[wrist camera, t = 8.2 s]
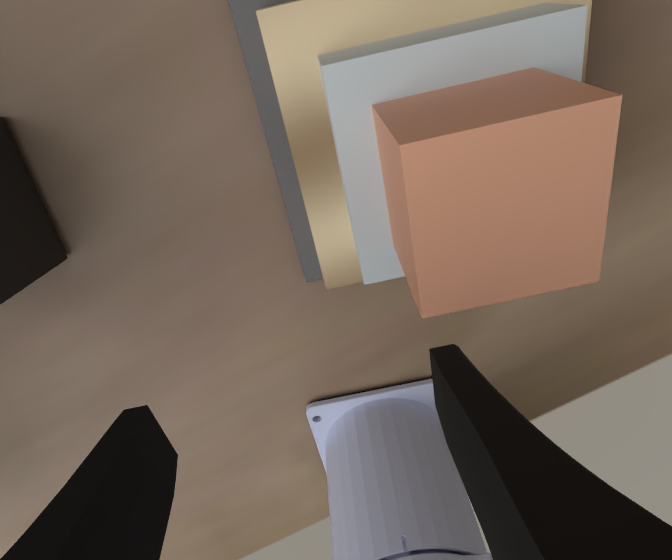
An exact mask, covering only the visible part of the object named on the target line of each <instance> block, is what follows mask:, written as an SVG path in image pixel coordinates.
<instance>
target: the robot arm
mask: <svg viewBox="0 0 672 560" xmlns="http://www.w3.org/2000/svg"><path fill="white" fill-rule="evenodd" d="M429 350H430V360H431V370H432V379H427V380H422V381H417V382H412V383H407V384H402V385H397V386H392V387H387V388H382V389H377V390H373V391H368V392H363V393H358V394H353V395H348V396H343V397H338V398H333V399H328V400H323V401H318V402H313V403H310V404H309V405H307V407H306V415H307V418H308V421H309V424H310V427H311V430H312V432H313V435H314V438H315V441H316V444H317V447H318V450H319V453H320V456H321V459H322V462H323V465H324V468H325V471H326V474H327V483H328V497H329V512H330V525H331V541H332V554H333V560H672V526H670V525H669V524H667V523H665V522H664V521H662V520H661V519H659V518H658V517H656V516H655V515H653V514H652V513H650V512H649V511H647V510H645V509H644V508H643V507H641V506H640V505H638V504H637V503H635V502H633V501H632V500H631V499H629V498H628V497H626V496H625V495H623V494H622V493H620V492H618V491H617V490H615V489H614V488H613V487H611V486H609V485H608V484H607V483H606V482H604V481H603V480H601V479H600V478H598V477H597V476H596V475H594V474H593V473H592V472H590V471H589V470H588V469H586V468H585V467H584V466H582V465H581V464H580V463H579V462H577V461H576V460H575V459H573V458H572V457H571V456H569V455H568V454H567V453H566V452H564V451H563V450H562V449H561V448H560V447H558V446H557V445H556V444H554V443H553V442H552V441H551V440H550V439H549V438H548V437H546V436H545V435H544V434H543V433H542V432H541V431H539V430H538V429H537V428H536V427H535V426H534V425H533V424H532V423H530V422H529V421H528V420H527V419H526V418H525V417H524V416H523V415H522V414H521V413H520V412H518V411H517V410H516V409H515V408H514V407H513V406H512V405H511V404H510V403H509V402H508V401H507V400H506V399H505V398H504V397H503V396H502V395H501V394H500V393H499V392H498V391H497V390H496V389H495V388H494V387H493V386H492V385H491V384H490V383H489V382H488V381H487V380H486V378H485V377H484V376H483V375H482V374H481V373H480V372H479V371H478V370H477V369H476V367H475V366H474V365H473V364H472V363H471V362H470V361H469V359H468V358H467V357H466V356H465V355H464V353H463V352H462V351H461V350H460V348H459V347H458V346H456V345H455V344H451V345H446V346H441V347H436V348H431V349H429ZM315 416H319V417H315ZM177 458H178V454H177V453H176V451H175V450H174V448H173V446H172V445H171V443H170V441H169V440H168V438H167V437H166V435H165V433H164V432H163V430H162V428H161V427H160V425H159V423H158V422H157V420H156V419H155V417H154V415H153V414H152V412H151V410H150V409H149V407H148V406H147V405H145V406H140V407H135V408H130V409H125V410H123V412H122V413H121V414H120V415H119V416H118V418H117V419H116V420H115V421H114V423H113V424H112V425H111V426H110V428H109V429H108V430H107V432H106V433H105V434H104V435H103V437H102V438H101V439H100V441H99V442H98V443H97V445H96V446H95V447H94V448H93V450H92V451H91V452H90V454H89V455H88V456H87V457H86V459H85V460H84V461H83V463H82V464H81V465H80V466H79V468H78V469H77V470H76V471H75V473H74V474H73V475H72V476H71V478H70V479H69V480H68V482H67V483H66V484H65V485H64V487H63V488H62V489H61V490H60V491H59V493H58V494H57V495H56V496H55V497H54V499H53V500H52V501H51V502H50V503H49V504H48V506H47V507H46V508H45V509H44V510H43V512H42V513H41V514H40V515H39V516H38V517H37V519H36V520H35V521H34V522H33V523H32V525H31V526H30V527H29V528H28V529H27V530H26V532H25V533H24V534H23V535H22V536H21V537H20V538H19V539H18V541H17V542H16V543H15V544H14V545H13V546H12V547H11V548H10V549H9V550H8V551H7V553H6V554H5V555H4V556H3V557H2V558H1V559H0V560H159V559H160V554H161V550H162V546H163V541H164V537H165V533H166V529H167V524H168V520H169V515H170V511H171V506H172V502H173V497H174V489H175V481H176V470H177ZM465 489H466V490H465ZM466 491H467V492H466ZM467 494H468V495H467ZM468 496H469V499H470V501H471V503H472V506H473V508H474V511H475V513H476V515H477V518H478V520H479V522H480V525H481V527H482V530H483V533H484V535H485V538H486V541H487V543H488V546H489V549H490V552H491V554H490V553H487V551H486V548H485V545H484V542H483V539H482V536H481V533H480V530H479V527H478V524H477V521H476V519H475V516H474V513H473V510H472V507H471V504H470V501H469V499H468ZM491 555H492V556H491ZM492 558H493V559H492Z"/></svg>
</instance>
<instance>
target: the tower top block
mask: <svg viewBox="0 0 672 560" xmlns="http://www.w3.org/2000/svg"><path fill="white" fill-rule="evenodd" d="M587 7H588V5H574V4H552V3H541V4H537V5H533V6H528V7H524V8H520V9H515V10H511V11H507V12H502V13H498V14H494V15H489V16H485V17H481V18H476V19H472V20H468V21H463V22H459V23H455V24H450V25H446V26H442V27H437V28H433V29H428V30H424V31H420V32H415V33H411V34H407V35H402V36H398V37H394V38H389V39H385V40H381V41H376V42H372V43H368V44H363V45H359V46H355V47H350V48H346V49H342V50H337V51H333V52H329V53H324V54H320V55H317V58H318V63H319V68H320V73H321V78H322V83H323V88H324V93H325V98H326V103H327V108H328V113H329V118H330V123H331V128H332V133H333V138H334V143H335V148H336V153H337V158H338V163H339V168H340V173H341V178H342V183H343V188H344V193H345V198H346V203H347V208H348V213H349V218H350V223H351V228H352V233H353V238H354V243H355V248H356V252H357V257H358V261H359V265H360V269H361V273H362V277H363V281H364V285H366V284H371V283H376V282H380V281H385V280H390V279H395V278H399V277H404V276H405V274H404V272H403V269H402V267H401V264H400V261H399V259H398V256H397V254H396V251H395V249H394V246H393V241H392V234H391V228H390V221H389V215H388V208H387V202H386V196H385V189H384V183H383V176H382V170H381V163H380V157H379V151H378V144H377V138H376V131H375V125H374V118H373V112H372V104H376V103H381V102H385V101H389V100H394V99H398V98H402V97H407V96H411V95H415V94H420V93H424V92H428V91H433V90H437V89H441V88H446V87H450V86H454V85H459V84H463V83H467V82H472V81H476V80H481V79H485V78H489V77H494V76H498V75H502V74H507V73H511V72H515V71H520V70H524V69H528V68H533V67H535V68H538V69H541V70H544V71H548V72H551V73H554V74H557V75H560V76H564V77H567V78H570V79H573V80H576V81H580V82H581V80H582V68H583V55H584V43H585V31H586V19H587Z"/></svg>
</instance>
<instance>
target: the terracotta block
mask: <svg viewBox="0 0 672 560" xmlns="http://www.w3.org/2000/svg"><path fill="white" fill-rule="evenodd" d="M621 103H622V95H621V94H618V93H615V92H611V91H608V90H605V89H602V88H599V87H595V86H592V85H589V84H586V83H583V82H580V81H576V80H573V79H570V78H567V77H564V76H560V75H557V74H554V73H551V72H548V71H544V70H541V69H538V68H535V67H533V68H528V69H524V70H520V71H515V72H511V73H507V74H502V75H498V76H494V77H489V78H485V79H481V80H476V81H472V82H467V83H463V84H459V85H454V86H450V87H446V88H441V89H437V90H433V91H428V92H424V93H420V94H415V95H411V96H407V97H402V98H398V99H394V100H389V101H385V102H381V103H376V104H372V112H373V118H374V125H375V131H376V138H377V144H378V151H379V157H380V163H381V170H382V176H383V183H384V189H385V196H386V202H387V208H388V215H389V221H390V228H391V234H392V241H393V246H394V249H395V251H396V254H397V256H398V259H399V261H400V264H401V267H402V269H403V272H404V274H405V277H406V279H407V282H408V284H409V287H410V289H411V292H412V295H413V297H414V300H415V302H416V305H417V307H418V310H419V312H420V315H421V317H422V319H423V318H428V317H433V316H438V315H442V314H447V313H452V312H457V311H461V310H466V309H471V308H476V307H480V306H485V305H490V304H495V303H499V302H504V301H509V300H514V299H518V298H523V297H528V296H533V295H538V294H542V293H547V292H552V291H557V290H561V289H566V288H571V287H576V286H580V285H585V284H590V283H595V282H599V280H600V272H601V264H602V256H603V248H604V240H605V232H606V224H607V216H608V208H609V199H610V191H611V183H612V175H613V167H614V159H615V151H616V143H617V135H618V127H619V119H620V111H621Z"/></svg>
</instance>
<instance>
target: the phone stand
mask: <svg viewBox="0 0 672 560" xmlns="http://www.w3.org/2000/svg"><path fill="white" fill-rule="evenodd" d="M66 259H67V255H66V253H65V251H64V249H63V246H62V244H61V242H60V240H59V238H58V236H57V234H56V231H55V229H54V227H53V225H52V223H51V221H50V219H49V216H48V214H47V212H46V210H45V208H44V206H43V204H42V201H41V199H40V197H39V195H38V193H37V191H36V189H35V186H34V184H33V182H32V180H31V178H30V176H29V174H28V171H27V169H26V167H25V165H24V163H23V161H22V159H21V156H20V154H19V152H18V150H17V148H16V146H15V144H14V141H13V139H12V137H11V135H10V133H9V131H8V129H7V126H6V124H5V122H4V120H3V118H2V117H0V304H2V303H3V302H5V301H6V300H8V299H9V298H11V297H12V296H13V295H15V294H16V293H18V292H19V291H21V290H22V289H24V288H25V287H27V286H28V285H30V284H31V283H32V282H34V281H35V280H37V279H38V278H40V277H41V276H43V275H44V274H46V273H47V272H48V271H50V270H51V269H53V268H54V267H56V266H57V265H59V264H60V263H62V262H63V261H65V260H66Z"/></svg>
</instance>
